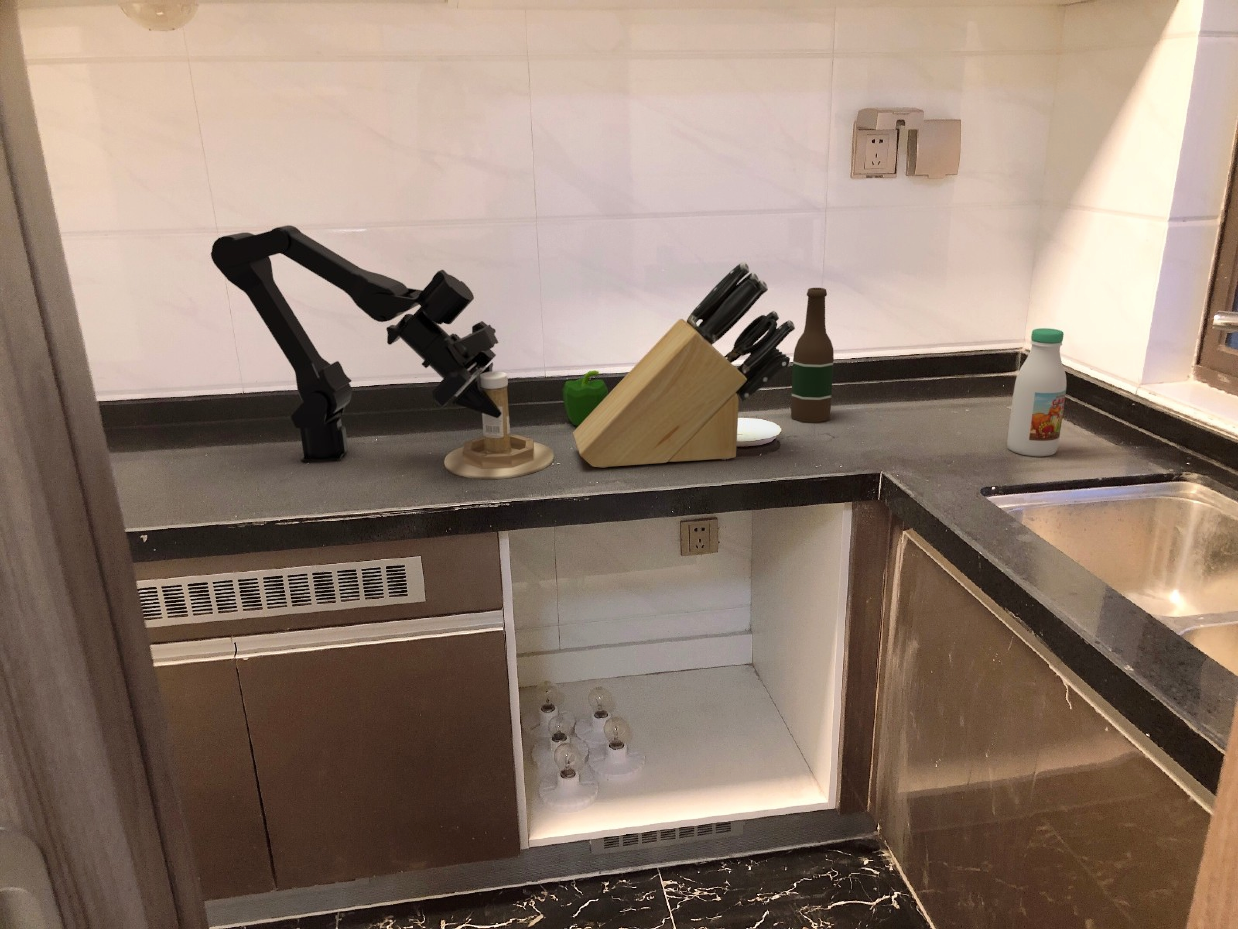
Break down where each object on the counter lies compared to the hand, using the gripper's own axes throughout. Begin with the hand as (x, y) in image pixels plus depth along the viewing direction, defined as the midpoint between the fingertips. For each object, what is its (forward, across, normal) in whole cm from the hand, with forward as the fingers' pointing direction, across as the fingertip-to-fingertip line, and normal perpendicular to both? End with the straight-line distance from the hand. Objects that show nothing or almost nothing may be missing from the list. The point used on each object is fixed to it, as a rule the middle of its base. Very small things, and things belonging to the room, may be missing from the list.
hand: (503, 411), depth 149 cm
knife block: (+26, +6, -14) cm, 30 cm away
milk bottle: (+66, +11, -56) cm, 87 cm away
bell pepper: (+13, +22, -1) cm, 25 cm away
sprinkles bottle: (+4, 0, +6) cm, 7 cm away
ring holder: (+5, 0, +7) cm, 8 cm away
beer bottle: (+42, +28, -31) cm, 59 cm away
